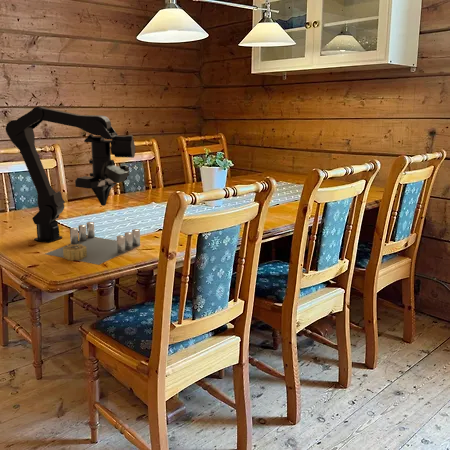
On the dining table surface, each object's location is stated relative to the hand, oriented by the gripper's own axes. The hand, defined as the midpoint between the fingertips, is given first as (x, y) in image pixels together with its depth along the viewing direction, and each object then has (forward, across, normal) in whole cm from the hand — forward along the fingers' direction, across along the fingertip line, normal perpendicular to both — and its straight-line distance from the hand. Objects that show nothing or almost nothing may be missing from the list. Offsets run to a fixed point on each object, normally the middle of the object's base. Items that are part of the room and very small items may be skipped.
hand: (103, 205), depth 158 cm
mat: (+12, -9, -3) cm, 15 cm away
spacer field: (+12, -3, -3) cm, 13 cm away
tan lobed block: (+12, -17, -3) cm, 21 cm away
